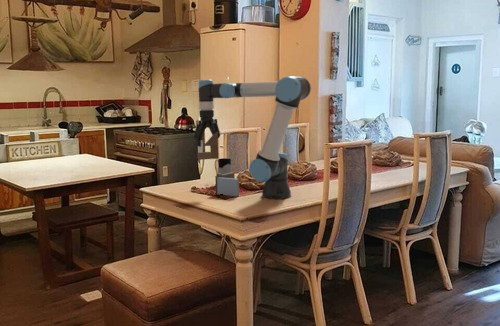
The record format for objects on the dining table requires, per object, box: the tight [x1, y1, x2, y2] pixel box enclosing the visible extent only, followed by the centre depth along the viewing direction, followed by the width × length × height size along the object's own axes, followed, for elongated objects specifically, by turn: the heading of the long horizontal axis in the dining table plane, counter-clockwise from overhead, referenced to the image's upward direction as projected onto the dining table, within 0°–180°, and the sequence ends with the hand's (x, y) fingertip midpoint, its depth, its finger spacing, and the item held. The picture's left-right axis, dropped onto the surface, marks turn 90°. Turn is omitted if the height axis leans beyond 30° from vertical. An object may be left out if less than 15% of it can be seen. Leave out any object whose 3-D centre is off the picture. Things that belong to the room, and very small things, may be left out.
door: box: [217, 177, 240, 197], centre depth 278 cm, size 3×12×9 cm, turn 62°
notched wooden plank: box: [214, 171, 236, 194], centre depth 286 cm, size 2×15×11 cm, turn 144°
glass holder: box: [214, 158, 232, 175], centre depth 311 cm, size 9×14×15 cm, turn 39°
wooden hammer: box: [197, 125, 220, 161], centre depth 277 cm, size 4×11×18 cm, turn 109°
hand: (207, 151), depth 277 cm, fingers closed on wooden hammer, 11 cm apart
